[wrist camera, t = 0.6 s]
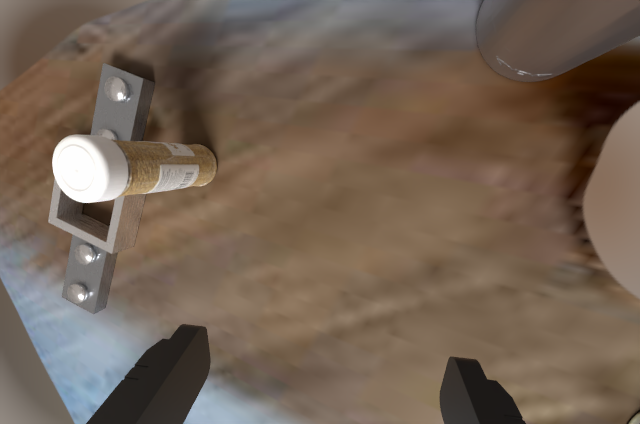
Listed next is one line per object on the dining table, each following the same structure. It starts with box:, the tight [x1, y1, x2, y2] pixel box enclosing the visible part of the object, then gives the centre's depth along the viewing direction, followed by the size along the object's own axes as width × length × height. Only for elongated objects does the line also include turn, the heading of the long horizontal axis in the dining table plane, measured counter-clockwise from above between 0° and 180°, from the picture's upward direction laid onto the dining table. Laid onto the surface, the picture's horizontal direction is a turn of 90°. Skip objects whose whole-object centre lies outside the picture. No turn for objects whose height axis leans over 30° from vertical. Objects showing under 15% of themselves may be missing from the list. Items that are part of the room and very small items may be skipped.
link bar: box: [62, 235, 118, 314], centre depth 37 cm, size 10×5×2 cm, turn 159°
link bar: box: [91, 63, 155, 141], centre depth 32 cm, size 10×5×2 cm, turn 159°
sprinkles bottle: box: [52, 135, 217, 203], centre depth 26 cm, size 5×5×14 cm
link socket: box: [48, 179, 146, 254], centre depth 34 cm, size 9×9×3 cm
